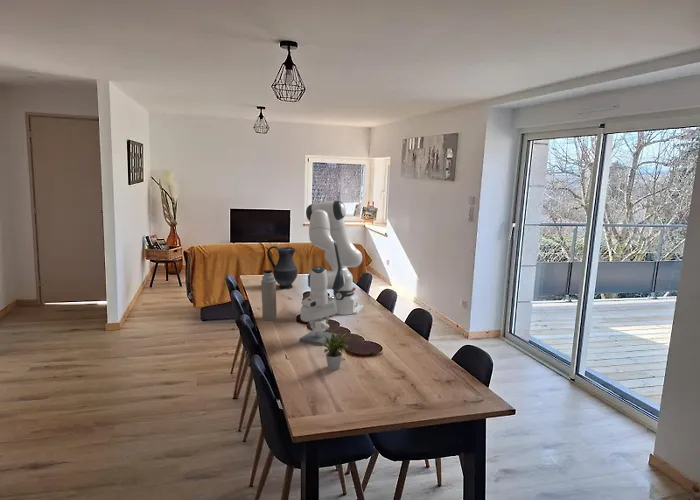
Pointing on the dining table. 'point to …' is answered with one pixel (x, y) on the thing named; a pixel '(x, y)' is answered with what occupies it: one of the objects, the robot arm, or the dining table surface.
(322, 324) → the collar
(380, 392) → the dining table surface
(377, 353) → the dining table surface
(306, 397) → the dining table surface
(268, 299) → the thermos bottle
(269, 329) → the dining table surface
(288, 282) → the pitcher
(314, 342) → the duct plate
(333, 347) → the house plant
